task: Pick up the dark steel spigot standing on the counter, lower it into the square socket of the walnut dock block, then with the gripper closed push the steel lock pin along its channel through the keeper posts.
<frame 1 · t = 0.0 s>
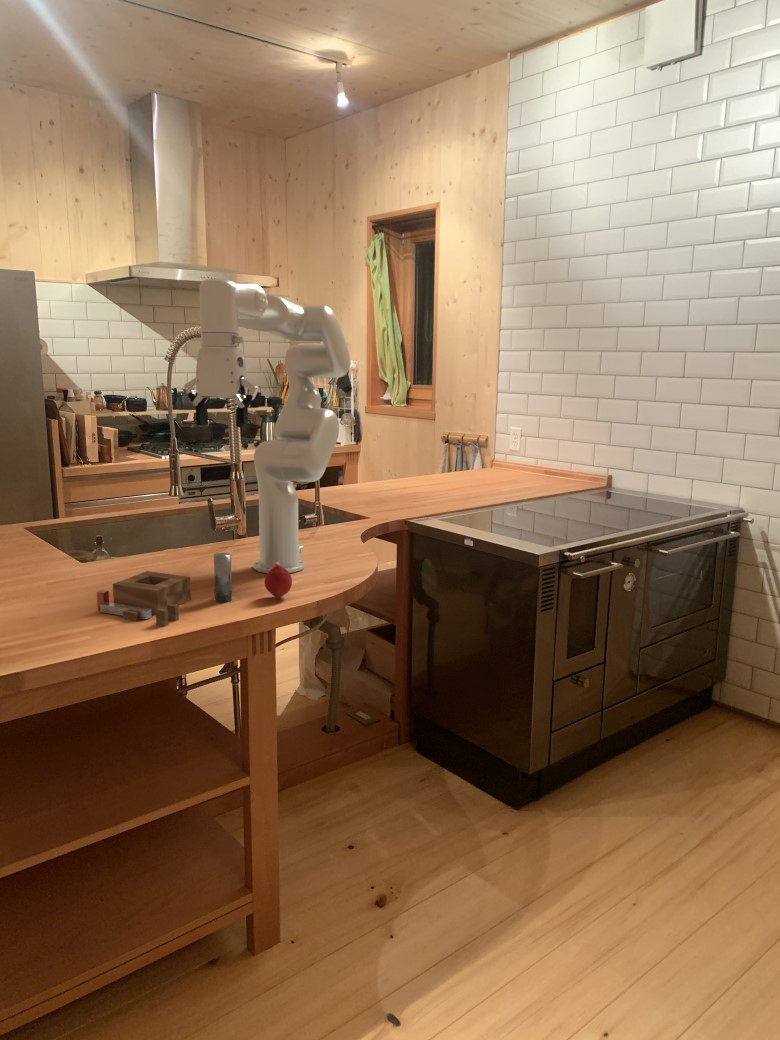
hand: (221, 425, 162), 37 cm above the countertop, tool pointing down, fingers open, 9 cm apart
onion: (278, 599, 167), on the countertop
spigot: (223, 600, 165), on the countertop
dock: (153, 603, 161), on the countertop
lock pin: (123, 604, 153), point 2 cm above the countertop, slide at 0.0 cm
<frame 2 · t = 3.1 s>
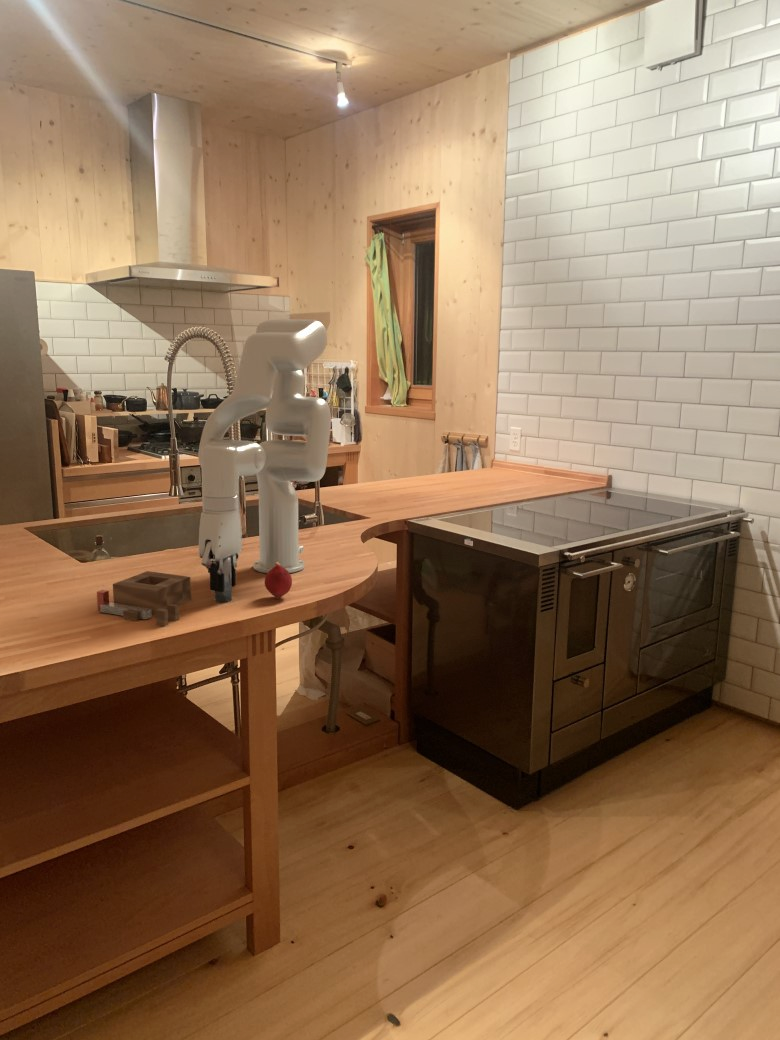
hand: (223, 587, 164), 3 cm above the countertop, tool pointing down, fingers closed on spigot, 3 cm apart
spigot: (223, 600, 165), on the countertop, touching gripper
everything else where it was.
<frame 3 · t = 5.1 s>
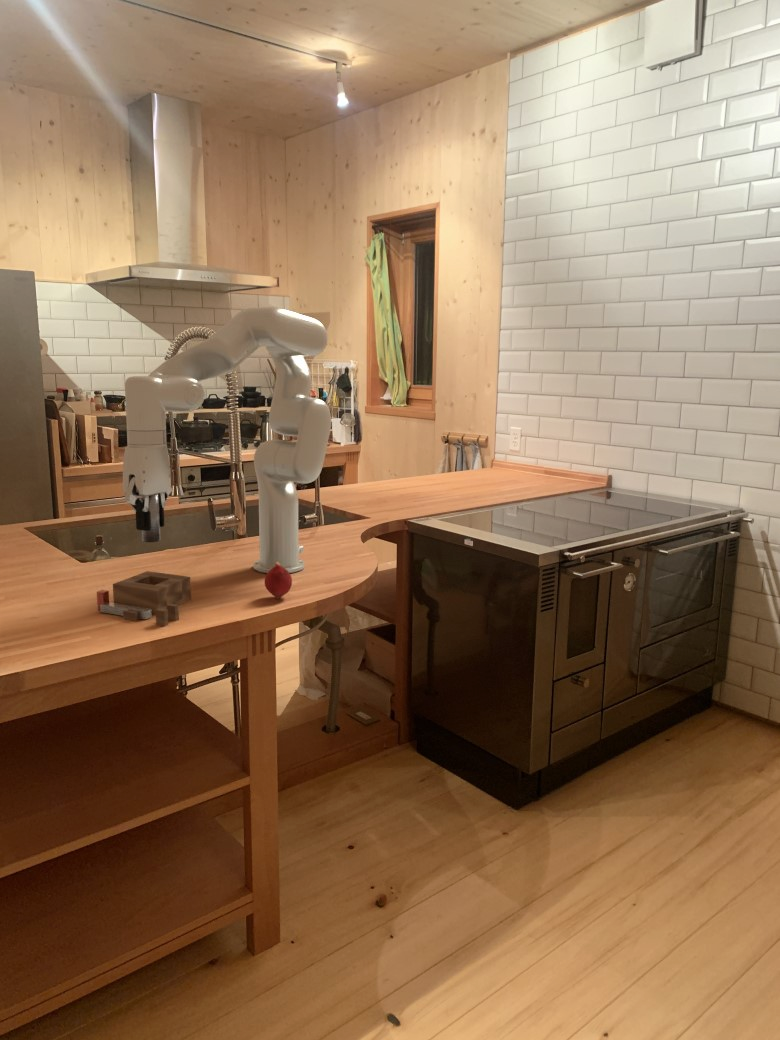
hand: (150, 527, 158), 16 cm above the countertop, tool pointing down, fingers closed on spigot, 3 cm apart
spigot: (151, 540, 159), point 14 cm above the countertop, touching gripper
everything else where it was.
when the fingers open (6 cm above the countertop, at t = 7.3 s): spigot drops 2 cm, resting on dock.
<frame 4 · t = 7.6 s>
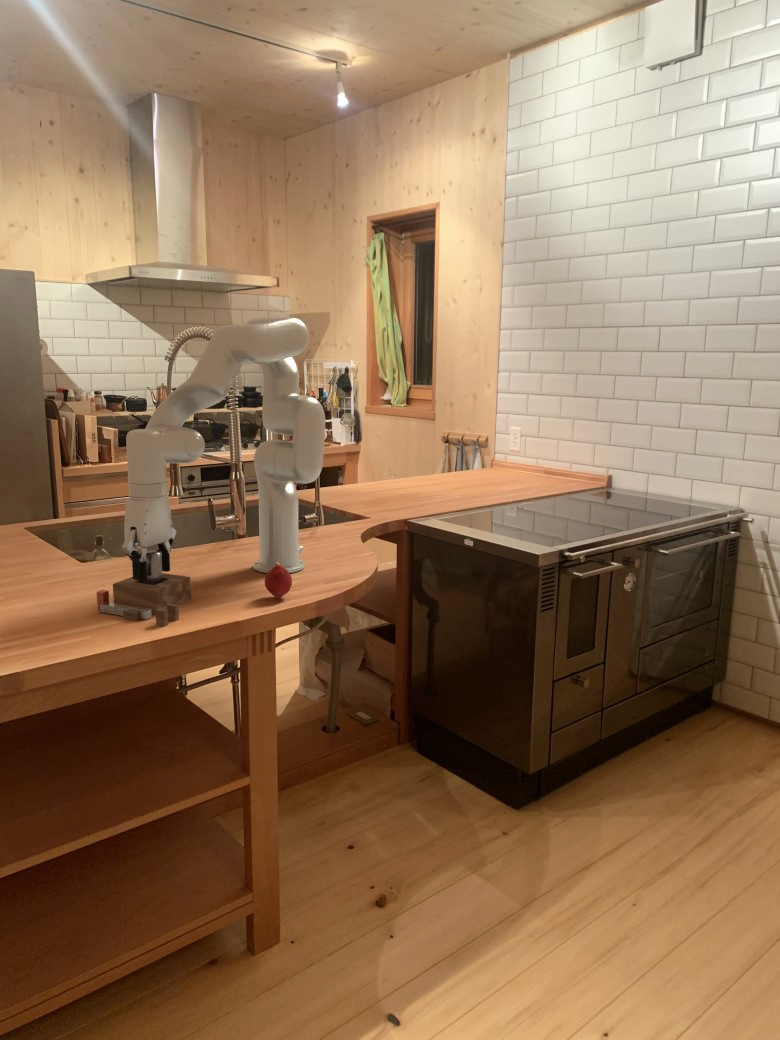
hand: (151, 574, 160), 6 cm above the countertop, tool pointing down, fingers open, 6 cm apart
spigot: (153, 598, 161), point 1 cm above the countertop, touching dock
everything else where it was.
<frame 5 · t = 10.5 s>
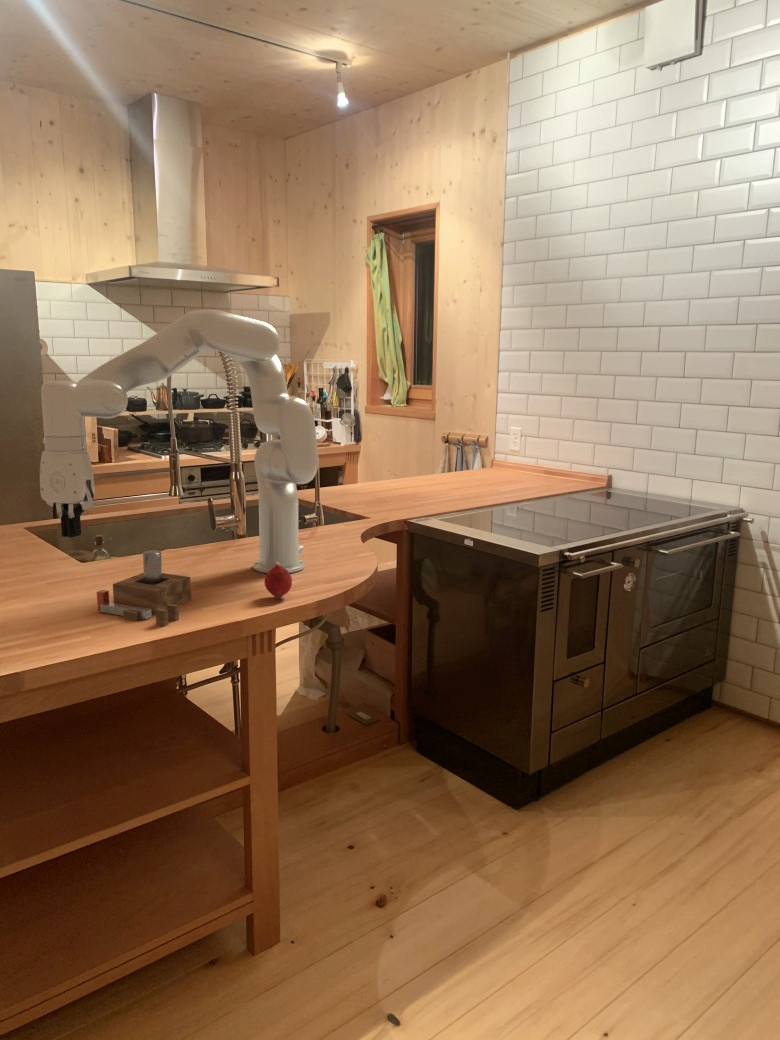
hand: (71, 535, 155), 15 cm above the countertop, tool pointing down, fingers closed
nothing on the countertop moved.
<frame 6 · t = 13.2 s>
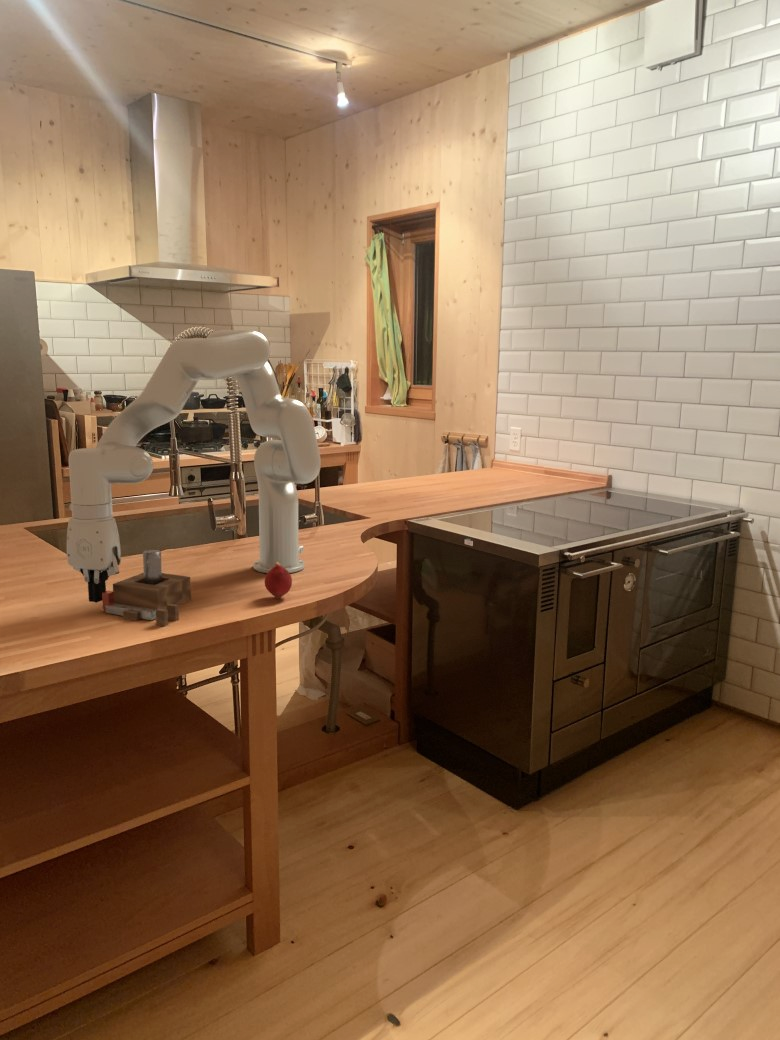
hand: (97, 600, 156), 2 cm above the countertop, tool pointing down, fingers closed
lock pin: (129, 605, 153), point 2 cm above the countertop, slide at 1.3 cm, touching gripper
everything else where it was.
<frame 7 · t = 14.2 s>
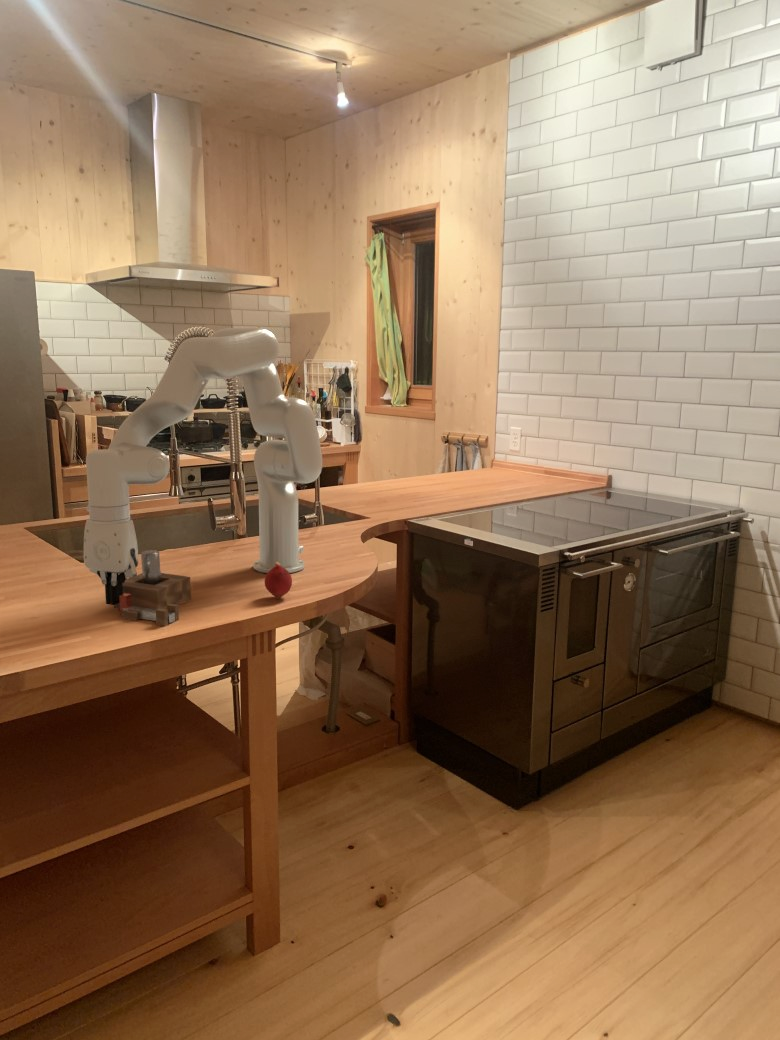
hand: (114, 602, 154), 2 cm above the countertop, tool pointing down, fingers closed
lock pin: (146, 607, 151), point 2 cm above the countertop, slide at 5.6 cm, touching gripper
everything else where it was.
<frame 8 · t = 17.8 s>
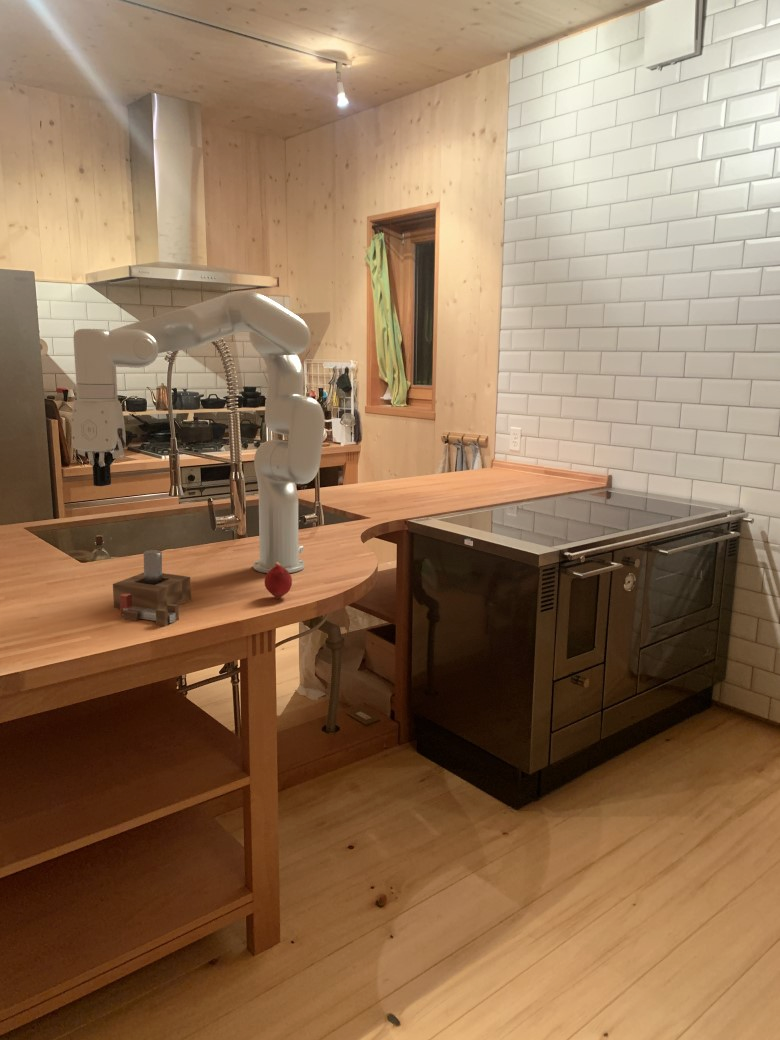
hand: (102, 485, 156), 25 cm above the countertop, tool pointing down, fingers closed
lock pin: (147, 607, 151), point 2 cm above the countertop, slide at 5.7 cm
everything else where it was.
at the end: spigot 0.1 cm off-centre on the dock, point 1.1 cm above the dock's base; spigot tilted 3°; lock pin slide at 5.7 cm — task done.
